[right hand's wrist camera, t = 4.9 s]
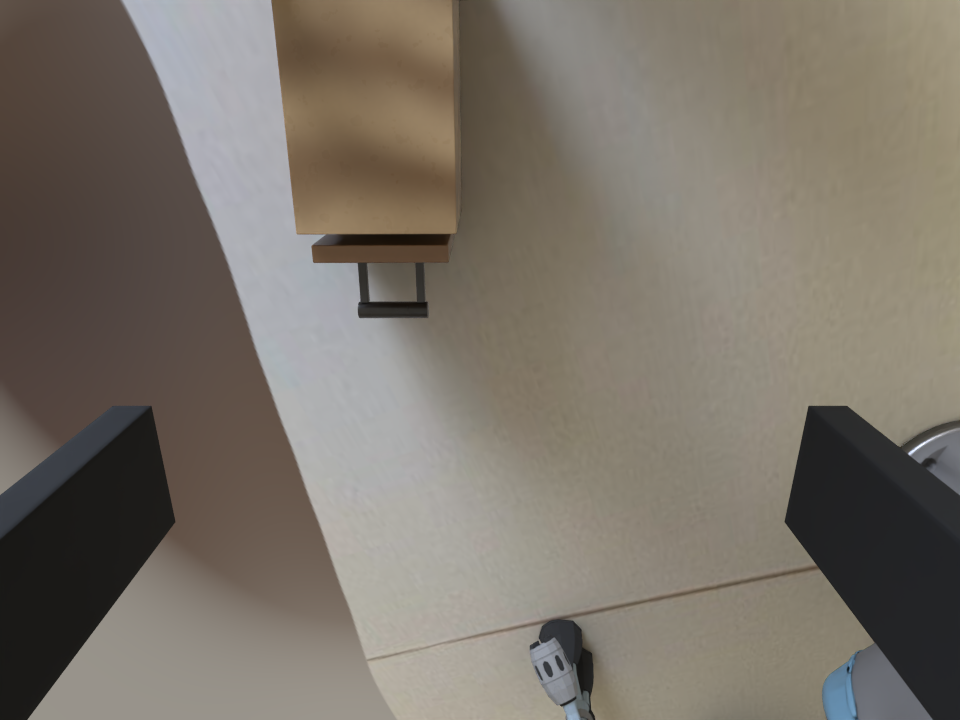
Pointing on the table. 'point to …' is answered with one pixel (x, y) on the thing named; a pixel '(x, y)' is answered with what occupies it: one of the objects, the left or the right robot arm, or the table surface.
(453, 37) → the cabinet
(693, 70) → the table surface
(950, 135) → the table surface
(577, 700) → the robot
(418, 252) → the drawer
